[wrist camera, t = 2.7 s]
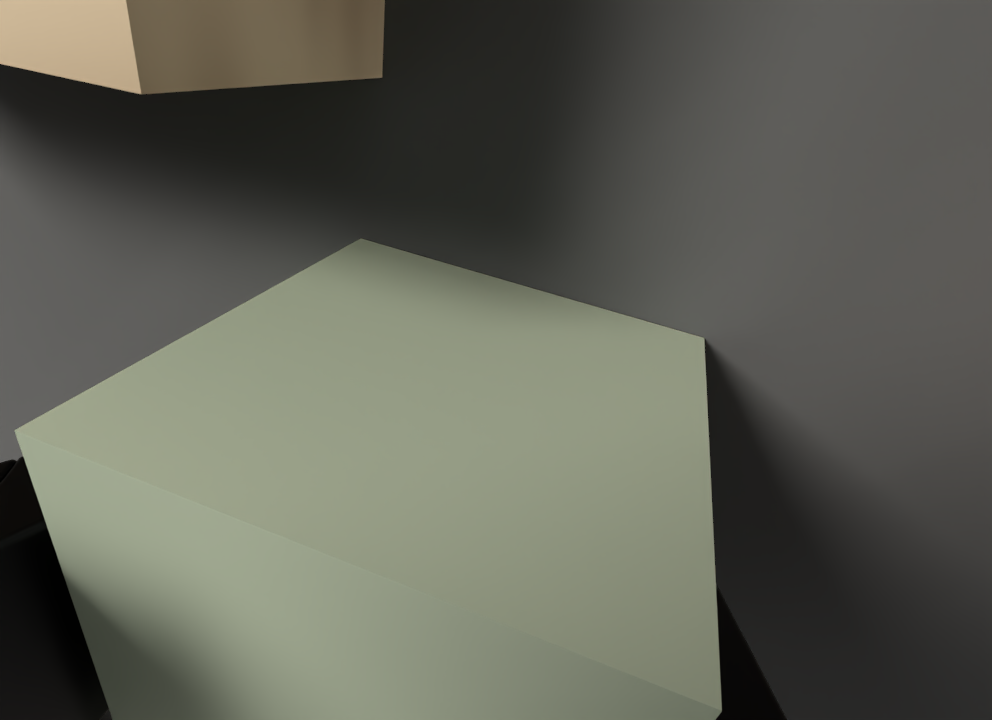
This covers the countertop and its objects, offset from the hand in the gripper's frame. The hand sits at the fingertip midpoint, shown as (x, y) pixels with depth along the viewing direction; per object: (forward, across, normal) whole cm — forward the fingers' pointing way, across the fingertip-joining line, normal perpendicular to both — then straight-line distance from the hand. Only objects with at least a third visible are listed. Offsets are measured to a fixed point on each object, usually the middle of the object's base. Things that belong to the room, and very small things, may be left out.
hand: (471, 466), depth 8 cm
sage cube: (+1, 0, 0) cm, 1 cm away
